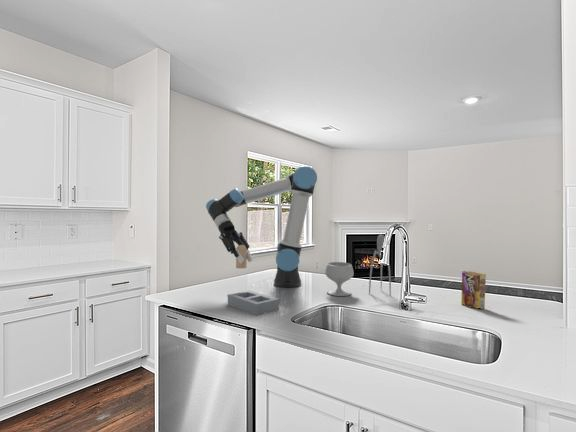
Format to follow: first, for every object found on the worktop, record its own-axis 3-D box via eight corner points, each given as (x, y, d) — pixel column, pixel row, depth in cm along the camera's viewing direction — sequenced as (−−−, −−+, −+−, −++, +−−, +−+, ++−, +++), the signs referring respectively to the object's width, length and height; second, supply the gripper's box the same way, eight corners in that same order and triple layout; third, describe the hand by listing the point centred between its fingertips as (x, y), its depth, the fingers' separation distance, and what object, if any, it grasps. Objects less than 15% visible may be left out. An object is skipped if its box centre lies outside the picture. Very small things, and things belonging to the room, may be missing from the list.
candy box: (485, 308, 155) (486, 273, 154) (478, 309, 153) (479, 274, 152) (467, 303, 163) (468, 270, 162) (460, 304, 161) (461, 271, 160)
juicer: (384, 297, 172) (385, 235, 171) (368, 293, 179) (370, 234, 178) (396, 294, 179) (397, 234, 178) (380, 290, 186) (382, 233, 185)
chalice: (322, 295, 174) (323, 265, 173) (327, 289, 187) (328, 261, 187) (351, 298, 170) (352, 267, 169) (354, 291, 183) (355, 262, 183)
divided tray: (249, 300, 164) (249, 290, 164) (278, 309, 150) (278, 299, 150) (227, 305, 156) (227, 294, 156) (256, 315, 142) (256, 304, 141)
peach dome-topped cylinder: (242, 266, 175) (242, 243, 175) (248, 267, 172) (248, 244, 171) (233, 267, 172) (234, 244, 171) (240, 268, 168) (240, 245, 168)
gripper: (234, 229, 188) (256, 263, 178) (206, 230, 174) (228, 268, 164) (241, 219, 184) (264, 254, 174) (213, 220, 171) (235, 258, 160)
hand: (246, 261), depth 169 cm, fingers closed on peach dome-topped cylinder, 5 cm apart
